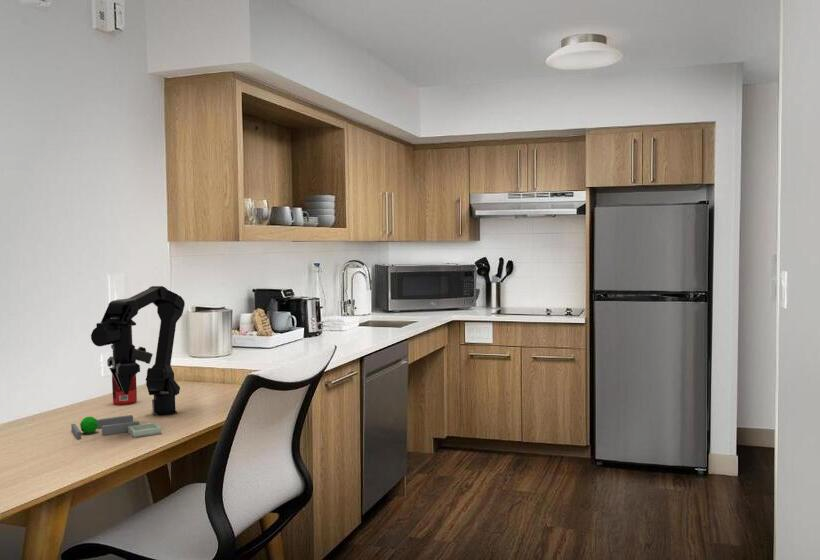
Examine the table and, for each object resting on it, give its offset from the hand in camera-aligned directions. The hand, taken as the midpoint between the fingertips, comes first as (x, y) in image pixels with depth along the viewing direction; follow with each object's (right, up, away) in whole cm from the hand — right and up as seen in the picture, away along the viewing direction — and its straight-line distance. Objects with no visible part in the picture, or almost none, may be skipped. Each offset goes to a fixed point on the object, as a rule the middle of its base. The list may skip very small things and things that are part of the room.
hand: (124, 392), depth 231 cm
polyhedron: (-9, -12, -5) cm, 15 cm away
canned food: (-13, -9, +36) cm, 39 cm away
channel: (-4, -11, -2) cm, 12 cm away
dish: (+8, -11, -6) cm, 15 cm away
